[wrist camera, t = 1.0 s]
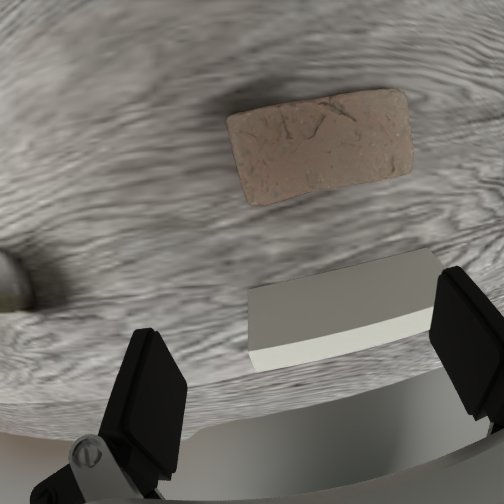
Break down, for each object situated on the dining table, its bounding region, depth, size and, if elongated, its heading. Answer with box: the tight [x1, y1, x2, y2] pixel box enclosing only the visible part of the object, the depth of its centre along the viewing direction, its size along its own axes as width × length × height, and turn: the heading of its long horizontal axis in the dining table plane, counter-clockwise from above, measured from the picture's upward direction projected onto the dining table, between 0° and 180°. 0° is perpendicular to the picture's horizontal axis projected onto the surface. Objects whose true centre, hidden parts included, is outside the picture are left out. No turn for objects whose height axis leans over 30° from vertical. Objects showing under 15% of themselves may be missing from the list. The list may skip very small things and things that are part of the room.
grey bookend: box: [248, 247, 446, 372], centre depth 33 cm, size 8×22×10 cm, turn 104°
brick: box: [226, 88, 414, 205], centre depth 27 cm, size 17×8×5 cm, turn 104°
